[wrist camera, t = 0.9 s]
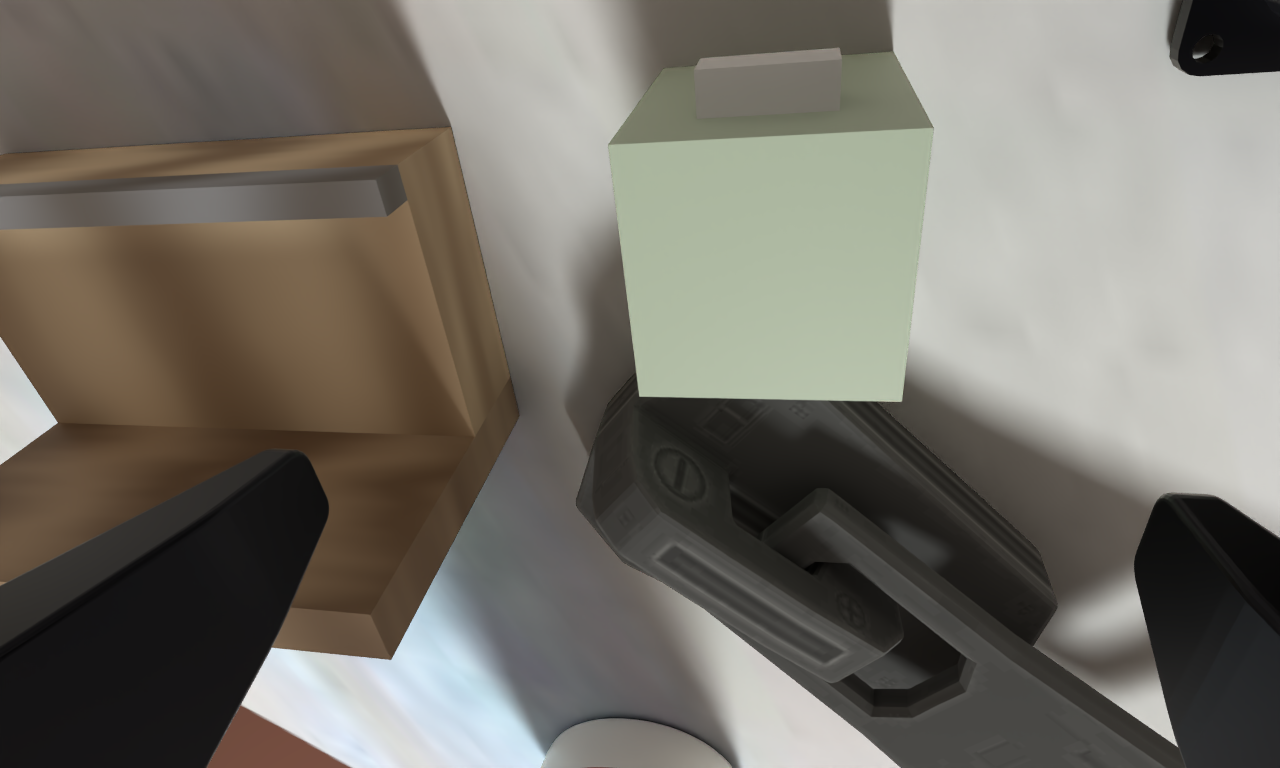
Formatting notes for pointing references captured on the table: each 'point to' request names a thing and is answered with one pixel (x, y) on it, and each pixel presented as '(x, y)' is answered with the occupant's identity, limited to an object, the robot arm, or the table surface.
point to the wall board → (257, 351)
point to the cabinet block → (773, 226)
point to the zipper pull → (855, 576)
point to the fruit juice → (629, 747)
